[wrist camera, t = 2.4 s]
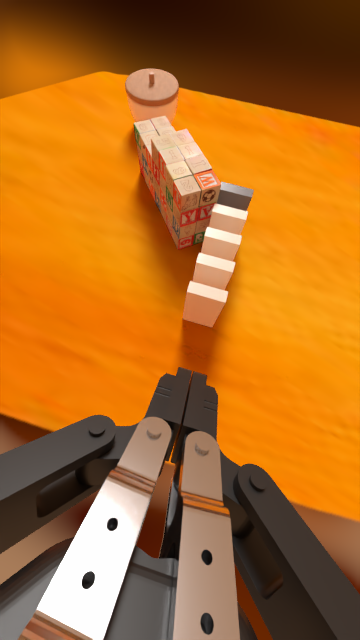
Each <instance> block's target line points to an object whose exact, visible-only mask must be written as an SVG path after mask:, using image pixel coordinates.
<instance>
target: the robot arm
mask: <svg viewBox="0 0 360 640" xmlns="http://www.w3.org/2000/svg"><path fill="white" fill-rule="evenodd" d="M191 373H192V371H191V370H188V369H184V368H181V367H179V368H178V371H177V374H176V376H174V375H170V374H167V373H166V374H165V375H164V376H162V377H161V378H160V380H159V382H158V385H157V387H156V390H155V393H154V395H153V397H152V400H151V402H150V405H149V408H148V410H147V413H146V415H145V417H144V418H143V420H142V421H141V422H139V423H137V424H135V425H132V426H115V423H114V422H113V420H111V419H110V418H109V417H107V416H103V415H94V416H90V417H88V418H86V419H83V420H81V421H78V422H76V423H74V424H71V425H69V426H67V427H64V428H62V429H60V430H57V431H55V432H53V433H50V434H48V435H46V436H43V437H41V438H38V439H36V440H34V441H31V442H30V443H27V444H24V445H22V446H20V447H18V448H15V449H13V450H10V451H8V452H6V453H4V454H1V455H0V554H1V553H2V552H4V551H5V550H7V549H8V548H10V547H11V546H13V545H15V544H16V543H18V542H19V541H21V540H22V539H24V538H25V537H27V536H28V535H30V534H31V533H33V532H34V531H36V530H37V529H39V528H41V527H42V526H44V525H45V524H47V523H48V522H50V521H51V520H53V519H54V518H56V517H57V516H59V515H60V514H62V513H63V512H65V511H67V510H68V509H70V508H71V507H73V506H74V505H76V504H77V503H79V502H80V501H82V500H83V499H85V498H86V497H88V496H89V495H91V494H92V493H94V492H96V491H97V490H99V489H100V488H101V487H102V488H101V490H100V491H99V493H98V495H97V497H96V499H95V501H94V503H93V505H92V506H91V508H90V510H89V512H88V514H87V516H86V518H85V520H84V522H83V523H82V525H81V527H80V529H79V531H78V533H77V535H76V537H73V538H70V539H66V540H64V541H62V542H60V543H57V544H55V545H54V546H52V547H50V548H49V549H48V550H46V551H44V552H43V553H42V554H40V555H39V556H38V557H36V558H35V559H34V560H32V561H31V562H30V563H28V564H27V565H26V566H24V567H23V568H22V569H20V570H19V571H18V572H17V573H15V574H14V575H13V576H11V577H10V578H9V579H7V580H6V581H5V582H3V583H2V584H1V585H0V640H258V639H257V637H256V635H255V632H254V630H253V628H252V626H251V624H250V622H249V620H248V618H247V616H246V615H245V613H244V611H243V609H242V608H241V607H240V605H239V604H238V602H237V595H236V582H235V569H234V563H235V564H236V566H237V569H238V571H239V573H240V575H241V577H242V579H243V580H244V583H245V584H246V587H247V588H248V590H249V593H250V595H251V596H252V599H253V601H254V602H255V604H256V606H257V609H258V611H259V612H260V614H261V617H262V619H263V620H264V622H265V624H266V626H267V628H268V630H269V632H270V634H271V636H272V638H273V640H360V595H359V593H358V592H357V591H356V589H355V588H354V587H353V585H352V584H351V583H350V581H349V580H348V579H347V577H346V576H345V575H344V573H343V572H342V571H341V569H340V568H339V567H338V565H337V564H336V563H335V562H334V560H333V559H332V558H331V556H330V555H329V554H328V552H327V551H326V550H325V548H324V547H323V546H322V544H321V543H320V542H319V541H318V539H317V538H316V536H315V535H314V534H313V533H312V531H311V530H310V528H309V527H308V526H307V525H306V523H305V522H304V521H303V519H302V518H301V517H300V515H299V514H298V513H297V511H296V510H295V509H294V508H293V506H292V505H291V503H290V502H289V501H288V499H287V498H286V497H285V495H284V494H283V493H282V492H281V490H280V489H279V488H278V486H277V485H276V484H275V482H274V481H273V480H272V478H271V477H270V476H269V475H268V473H267V472H266V471H265V470H263V469H262V468H260V467H259V466H257V465H254V464H245V465H243V466H242V467H240V466H238V465H237V464H235V463H234V462H232V461H231V460H230V459H228V458H227V457H226V456H225V455H224V454H223V453H222V452H221V450H220V449H219V445H218V443H217V440H216V435H217V407H218V406H217V404H218V395H217V393H216V391H215V388H213V387H210V386H207V385H206V380H207V375H204V374H201V373H198V372H195V371H193V374H192V377H191ZM190 378H191V380H190ZM189 382H190V383H189ZM174 443H175V444H174ZM173 446H174V449H173ZM172 449H173V453H172V458H171V462H172V463H175V470H174V474H173V477H172V480H171V484H170V492H169V499H168V506H167V514H166V522H165V530H164V536H163V542H162V546H161V550H160V554H159V559H155V558H152V557H150V556H149V555H147V554H146V553H145V552H143V551H142V550H141V549H140V548H138V547H137V546H136V543H137V540H138V537H139V534H140V530H141V528H142V524H143V522H144V519H145V515H146V512H147V509H148V506H149V503H150V500H151V497H152V494H153V491H154V488H155V485H156V482H157V479H158V477H159V476H160V474H161V472H162V469H163V466H164V463H165V461H169V458H170V455H171V452H172Z"/></svg>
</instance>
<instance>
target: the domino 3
mask: <svg viewBox="0 0 360 640" xmlns="http://www.w3.org/2000/svg"><path fill="white" fill-rule="evenodd" d="M241 238H242V236H241V235H237V234H233V233H229V232H225V231H222V230H218V229H214V228H210V227H207V229H206V232H205V235H204V240H203V245H202V250H201V253H203V254H206V255H210V256H214V257H217V258H221V259H225V260H228V261H232V262H233V259H234V257H235V255H236V253H237V250H238V248H239V246H240V242H241Z"/></svg>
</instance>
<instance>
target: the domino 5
mask: <svg viewBox="0 0 360 640" xmlns="http://www.w3.org/2000/svg"><path fill="white" fill-rule="evenodd" d="M227 295H228V291H224V290H221V289H217V288H214V287H210V286H207V285H203V284H200V283H196V282H192V281H190V283H189V286H188V289H187V293H186V300H185V306H184V313H183V319H184V320H187V321H190V322H194V323H197V324H201V325H204V326H208V327H211V328H212V327H213V325H214V323H215V321H216V319H217V317H218V316H219V314H220V312H221V310H222V308H223V307H224V305H225V303H226V299H227Z"/></svg>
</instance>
